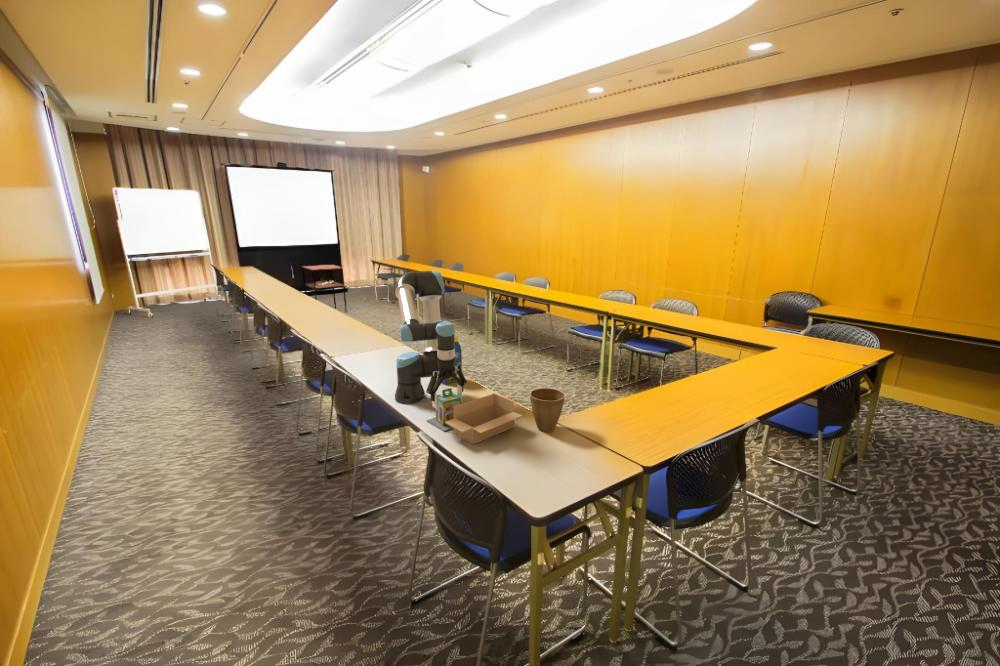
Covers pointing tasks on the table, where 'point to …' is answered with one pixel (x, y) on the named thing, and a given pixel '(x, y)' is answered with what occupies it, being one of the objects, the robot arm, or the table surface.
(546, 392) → the plant pot
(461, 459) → the table surface
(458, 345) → the blue food package
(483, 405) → the carton
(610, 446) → the table surface
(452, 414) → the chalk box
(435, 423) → the mat
